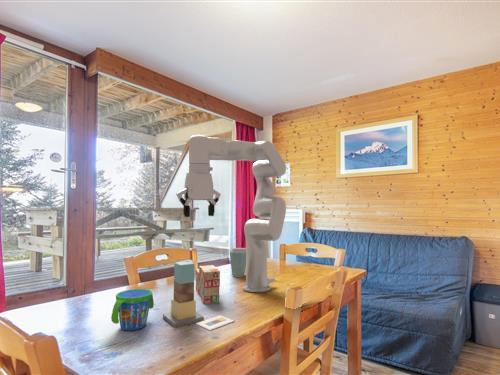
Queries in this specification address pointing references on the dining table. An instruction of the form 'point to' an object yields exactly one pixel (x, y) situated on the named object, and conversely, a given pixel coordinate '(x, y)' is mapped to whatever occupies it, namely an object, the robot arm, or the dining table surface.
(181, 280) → the teal brick
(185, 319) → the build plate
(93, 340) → the dining table surface
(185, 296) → the walnut brick
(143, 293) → the snack cup
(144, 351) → the dining table surface
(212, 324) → the tile
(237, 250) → the disposable coffee cup
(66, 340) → the dining table surface
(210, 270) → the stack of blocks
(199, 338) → the dining table surface
